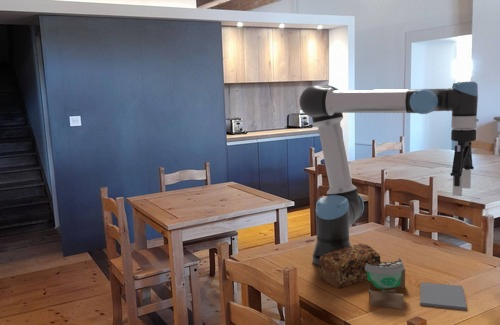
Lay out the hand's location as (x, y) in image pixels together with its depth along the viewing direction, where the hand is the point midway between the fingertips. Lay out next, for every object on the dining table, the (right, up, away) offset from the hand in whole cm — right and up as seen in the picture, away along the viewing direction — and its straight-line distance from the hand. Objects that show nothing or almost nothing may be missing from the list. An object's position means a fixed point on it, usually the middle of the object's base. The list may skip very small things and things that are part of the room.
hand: (461, 191), depth 156 cm
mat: (-15, -30, -19) cm, 38 cm away
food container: (-30, -30, -17) cm, 46 cm away
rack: (-30, -30, -17) cm, 46 cm away
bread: (-38, -29, -2) cm, 48 cm away
